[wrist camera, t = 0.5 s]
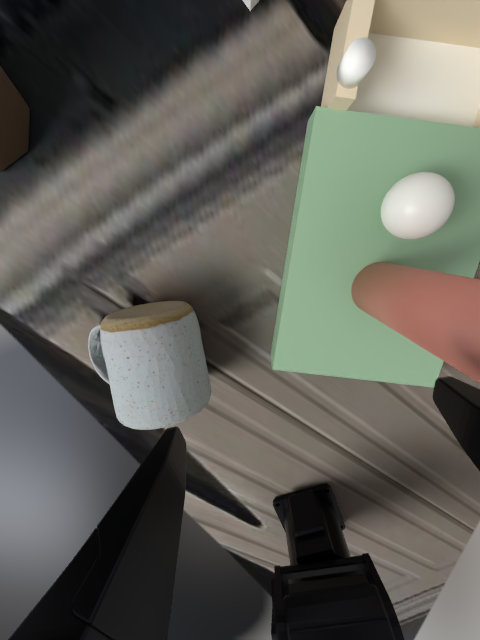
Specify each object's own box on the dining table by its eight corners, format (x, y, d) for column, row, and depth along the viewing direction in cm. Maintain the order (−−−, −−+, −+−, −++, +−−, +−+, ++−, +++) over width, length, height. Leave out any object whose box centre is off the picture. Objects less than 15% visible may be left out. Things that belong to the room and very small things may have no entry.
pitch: (417, 374, 26) (434, 387, 24) (270, 357, 26) (272, 369, 23) (494, 145, 21) (525, 134, 18) (307, 121, 20) (316, 106, 18)
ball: (432, 226, 20) (476, 224, 16) (377, 247, 20) (408, 250, 17) (421, 169, 19) (466, 152, 15) (364, 192, 19) (393, 181, 16)
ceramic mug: (201, 291, 24) (180, 316, 17) (217, 375, 26) (204, 429, 19) (85, 307, 25) (16, 337, 17) (110, 388, 27) (58, 444, 20)
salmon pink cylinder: (408, 302, 22) (596, 377, 10) (358, 320, 22) (483, 411, 11) (398, 253, 21) (593, 275, 9) (345, 273, 21) (467, 317, 10)
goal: (485, 145, 21) (568, 113, 15) (315, 122, 20) (340, 82, 15) (522, 32, 19) (631, -49, 13) (335, 6, 18) (371, -87, 13)
